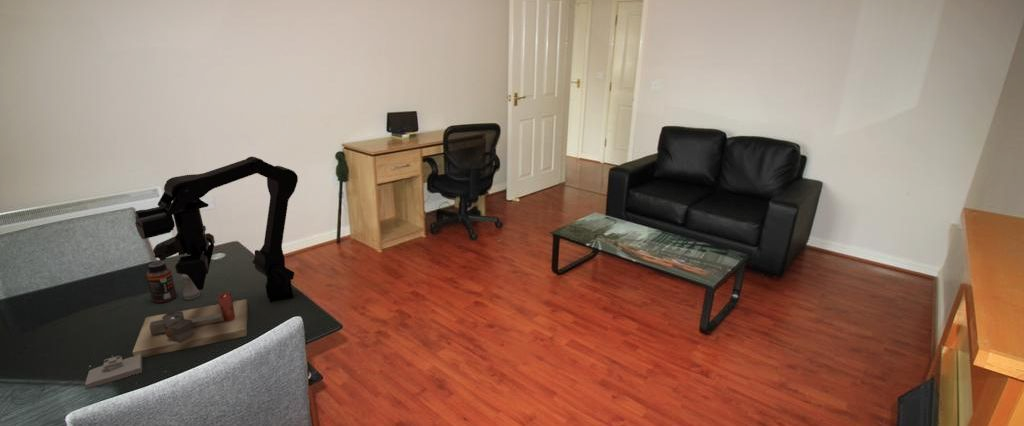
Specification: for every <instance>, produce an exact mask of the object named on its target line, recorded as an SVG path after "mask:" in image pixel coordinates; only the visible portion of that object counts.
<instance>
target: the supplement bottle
mask: <svg viewBox="0 0 1024 426" xmlns="http://www.w3.org/2000/svg"><path fill="white" fill-rule="evenodd" d="M147 267H148V271H147V273H146V280H147V284H148V288H149V292H150V296H151V299H152V301H153V302H154V303H161V304H162V303H166V302H170V301H172V300H174V299H175V298H176V297H177V291H176V286H175V282H174V276H173V274H172V273H173V272H172V270H171V268H169V267H168V266H167V265H166V262H165V260H163V261H161V260H159V261H154V262H153V261H152V262H151V263H149V264H148V266H147Z"/></svg>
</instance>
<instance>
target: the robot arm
mask: <svg viewBox="0 0 1024 426" xmlns="http://www.w3.org/2000/svg"><path fill="white" fill-rule="evenodd" d="M255 174H258V175H260V176H262V177H265V178H266V185H267V190H268V193H269V197H270V198H269V205H268V211H267V212H268V213H267V219H266V225H265V226H266V228H265V233H264V234H265V235H264V241H263V245H262V246H261V248H260V249H258V250H257V249H256V250H254V258H253V260H252V264H253V265H254V268H255V270H256V271H257V272H259V273H260V274H261V275H263V276H264V277H266V282H265V290H266V296H267V297H266V298H267V299H269V302H270V303H275V302H276V303H277V302H281V301H286V300H292V299H294V298H295V297H294V291H293V290H294V288H293V286H292V280H294V277H295V272H294V271H293V270H291V269H290V268H287V267H286V259H285V255H284V251H283V242H284V240H283V239H284V234H285V233H284V232H285V225H286V219H287V211H288V207H289V206H288V205H289V200H290V198H291V197H292V196H293V194H294V192H295V190H296V187H297V185H298V182H299V179H298V178H299V177H298V174H297V173H296V172H295V171H294V170H292V169H290V168H288V167H284V166H281V165H273V164H270V163H268V162H266V161H264V160H263V159H261V158H259V157H255V156H249V157H247V158H245V159H242V160H239V161H236V162H234V163H230V164H228V165H224V166H221V167H218V168H215V169H212V170H210V171H206V172H203V173H198V174H196V173H195V174H193V173H192V174H185V175H179V176H178V175H177V176H173V177H170V178H169V179H167V180H166V182H165V184H164V187H163V190H164V192H163V193H162V195H161V197H160V199H159V201H158V203H157V206H156V207H151V208H146V209H139V210H136V211H135V212H134V213H135V222H134V223H135V224H134V225H135V228H136V230H137V233H138V234H139V236H140V238H141V239H142V240H146V239H150V238H151V239H152V238H154V237H159V236H162V235H166V234H170V233H171V232H172V231H174V229H175V228H176V232H177V233H176V235H175V236H173V237H170V238H168V239H166V240H163V241H161V242H160V243H157V244H156V245H155V246H154V248H153V250H152V253H153V254H154V258H156V259H159V261H165V260H167V259H168V258H170V257H172V256H174V255H176V254H178V256H180V257H179V259H177V260H176V264H175V265H174V269H175V271H176V274H179V275H182V274H185V275H188V276H189V277H190V279H191V280H192V282H193V283H194V285H195V286H196V288H197V289H198V290H199V291H202V290H204V286H205V283H206V278H207V275H208V274H209V269H210V266H211V261H212V258H213V253H214V249H215V243H216V242H215V241H216V240H215V237H214V234H211V233H206V231H207V227H206V225H204V223H203V219H202V218H203V217H202V213H201V209H203V208H208V207H209V204H208V203H207V202H205V201H203V200H202V199H201V198H203V197H205V196H206V195H207V194H208V193H209V192H210V191H213V190H214V189H216V188H219V187H222V186H225V185H228V184H231V183H233V182H236V181H239V180H242V179H245V178H247V177H250V176H253V175H255ZM185 254H186V255H185Z"/></svg>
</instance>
